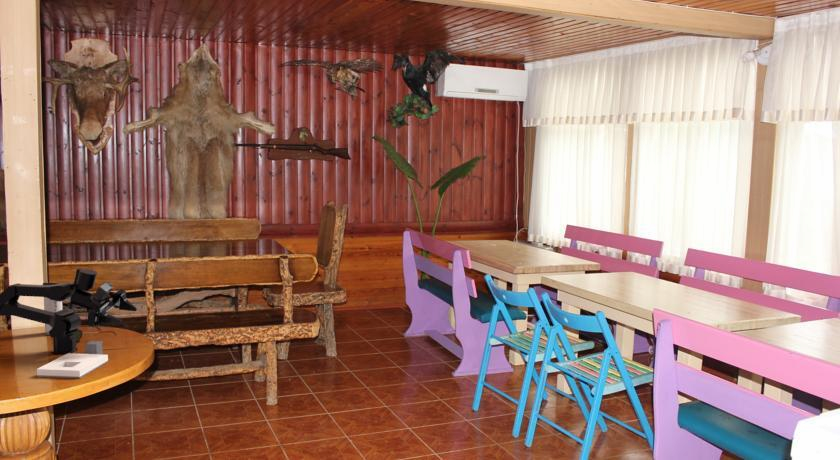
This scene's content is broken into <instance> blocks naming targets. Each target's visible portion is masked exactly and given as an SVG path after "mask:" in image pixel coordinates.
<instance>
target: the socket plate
mask: <svg viewBox="0 0 840 460" xmlns="http://www.w3.org/2000/svg"><path fill="white" fill-rule="evenodd" d="M108 362H109V355H108V354H103V355H101V354H86V353H73V352H71V353H68V354H63V355H62V356H59V357H58V358H55V359H53V360H52V361H50V362H48V363H46V364H44V365H42V366H40V367H38V368H36V377H38V378H57V379H58V378H60V379H82V378H83V377H85V376H87V375H88V374H90V373H92V372H93V371H95V370H97V369H98V368H100V367H102V366H104V365H105V364H107V363H108Z"/></svg>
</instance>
